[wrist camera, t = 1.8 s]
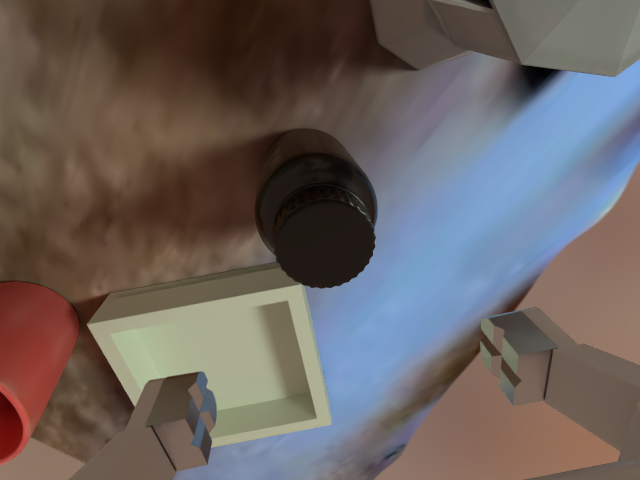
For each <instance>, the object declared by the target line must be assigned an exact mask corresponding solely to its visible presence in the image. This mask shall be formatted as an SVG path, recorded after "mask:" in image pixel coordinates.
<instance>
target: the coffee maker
mask: <svg viewBox="0 0 640 480" xmlns="http://www.w3.org/2000/svg"><path fill="white" fill-rule="evenodd" d="M370 5H371V11H372V16H373V22H374V27H375V32H376V38H377V43H378V44H379V45H381V46H382V47H384V48H385V49H387V50H388V51H390V52H391V53H393V54H394V55H396V56H397V57H398V58H400V59H401V60H403V61H404V62H406V63H407V64H409V65H410V66H412V67H413V68H415V69H416V70H422V69H425V68H428V67H431V66H434V65H437V64H440V63H443V62H447V61H450V60H453V59H456V58H459V57H462V56H465V55H468V54H471V53H473V52H478V53H482V54H486V55H490V56H494V57H497V58H501V59H505V60H509V61H512V62H516V63H518V64H521V65H529V66H536V67H544V68H551V69H559V70H566V71H573V72H581V73H588V74H596V75H603V76H611V77H615V76H617V75H618V74H620V73H621V72H622V71H624V70H625V69H627V68H628V67H629V66H631V65H632V64H633V63H635V62H636V61H638V60H639V59H640V0H370Z"/></svg>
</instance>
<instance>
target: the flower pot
mask: <svg viewBox="0 0 640 480" xmlns="http://www.w3.org/2000/svg"><path fill="white" fill-rule="evenodd" d="M79 331H80V324H79V319H78V316H77V314H76V312H75V310H74V309H73V307H72V306H71V305H70V304H69V303H68V302H67V301H66V300H65V299H64V298H63V297H62V296H60V295H59V294H57V293H56V292H54V291H52V290H50V289H48V288H46V287H44V286H41V285H37V284H32V283H27V282H22V281H11V282H4V283H0V465H2V464H4V463H6V462H8V461H9V460H11V459H13V458H14V457H15V456H16V455H18V454H19V453H20V452H21V451H22V450H23V448H24V447H25V446H26V444H27V443H28V441H29V439H30V437H31V435H32V433H33V431H34V429H35V427H36V425H37V423H38V421H39V419H40V417H41V415H42V413H43V411H44V409H45V407H46V405H47V403H48V401H49V399H50V397H51V395H52V393H53V391H54V389H55V387H56V385H57V383H58V381H59V379H60V376H61V374H62V372H63V370H64V368H65V366H66V364H67V362H68V359H69V357H70V355H71V353H72V350H73V348H74V345H75V343H76V341H77V338H78V336H79Z"/></svg>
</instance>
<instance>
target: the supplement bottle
mask: <svg viewBox="0 0 640 480" xmlns="http://www.w3.org/2000/svg"><path fill="white" fill-rule="evenodd" d="M377 209H378V207H377V199H376V194H375V191H374V189H373V186H372V184H371V182H370V181H369V179H368V177H367V176H366V174H365V173H364V172H363V170H362V169H361V168H360V167H359V165H358V164H357V163H356V162H355V160H354V159H353V158H352V157H351V155H350V154H349V153H348V151H347V150H346V149H345V148H344V147H343V145H342V144H341V143H340V142H339V141H338V140H336V139H335V138H334V137H332V136H331V135H329V134H327V133H325V132H323V131H320V130H316V129H298V130H294V131H291V132H288V133H286V134H284V135H282V136H281V137H279V138H278V139H277V140H276V141H275V142H274V143H273V144H272V145H271V146H270V147H269V149H268V150H267V152H266V154H265V156H264V158H263V161H262V165H261V169H260V175H259V182H258V189H257V195H256V202H255V220H256V226H257V229H258V232H259V235H260V237H261V239H262V241H263V242H264V244H265V245H266V246H267V248H268V249H269V250H270V251H271V252H272V253H273V254H274V255H275V256H276V261H277V262H278V264H280V267H281V270H283V271H284V272H286V274H287V276H288V277H290V278H292V279H293V280H294V281H295V282H299V283H301V284H302V285H305V286H310V287H311V288H315V287H318V288H321V289H322V288H325V287H328V288H332V287H334V286H340V285H342V284H343V283H346V282H349V281H350V280H351V279H352V278H355V277H357V275H358V274H359V273H360V272H362V271H363V270H364V268H365V266H366V265H367V264H369V260H370V258H371V257H372V256H373V250H374V248H375V243H374V241H375V238H376V236H375V234H374V227H375V224H376V220H377Z"/></svg>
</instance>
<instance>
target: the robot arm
mask: <svg viewBox="0 0 640 480" xmlns="http://www.w3.org/2000/svg"><path fill="white" fill-rule="evenodd" d="M481 329H482V331H483V332H484V333H485V336H484V337H483V338H482V339H481V353H482V357H483V360H484V362H485V365H486V367H487V368H488V370H489V371H490V373H492V374H493V375H495V376H497V377H499V378H500V385H499V386H500V387H501V389H502V390H503V392H504V393H505V395H506V396H507V398H508V399H509V401H510V402H511V403H512V405H514V406H515V405H521V404H527V403H533V402H539V401H545V403H547V404H548V405H550V406H551V407H553V408H554V409H556V410H557V411H559V412H561V413H562V414H563V415H565V416H567V417H568V418H570V419H571V420H573V421H574V422H576V423H578V424H579V425H580V426H582V427H584V428H585V429H587V430H588V431H590V432H592V433H593V434H594V435H596V436H597V437H599V438H600V439H602V440H604V441H605V442H607V443H608V444H610V445H611V446H613V447H614V448H616V449H618V450H619V451H620V452H621V453H620V456H619V459H618V462H613V463H607V464H602V465H597V466H592V467H588V468H582V469H577V470H571V471H566V472H562V473H556V474H551V475H546V476H540V477H535V478H531V479H525V480H640V365H638V364H635V363H632V362H630V361H627V360H625V359H622V358H620V357H617V356H614V355H612V354H609V353H606V352H604V351H602V350H599V349H596V348H594V347H591V346H589V345H586V344H580V345H578V344H577V343H576V342H575V341H574V340H573V339H572V338H571V337H570V336H569V335H568V334H566V333H565V332H564V331H563V330H562V329H561V328H560V327H559V326H558V325H557V324H556V323H555V322H554V321H552V320H551V319H550V318H549V317H548V316H547V315H546V314H545V313H544V312H543V311H542V310H540V309H539V308H537V307H533V308H528V309H523V310H518V311H514V312H509V313H504V314H499V315H494V316H489V317H484V318H483V320H482V322H481ZM207 383H208V379H207V377H206V375H205V373H204V372H202V371H199V372H193V373H187V374H181V375H175V376H169V377H166V378H159V379H153V380H149V381H148V382H147V383H146V384H145V386H144V388H143V391H142V393H141V395H140V397H139V400H138V402H137V404H136V406H135V409H134V411H133V413H132V415H131V418H130V420H129V422H128V424H127V427H126V429H125V431H124V432H119V433H118V434H117V435H116V436H115V437H114V438H112V439H111V440H110V441H109V442H108V443H107V444H106V445H105V446H104V447H103V448H102V449H101V450H100V451H99V452H98V453H97V454H95V455H94V456H93V457H92V458H91V459H90V460H89V461H88V462H87V463H86V464H85V465H84V466H83V467H82V468H81V469H80V470H78V471H77V472H76V473H75V475H73V476H72V477H71V478H70V479H69V480H172V479H173V477H174V476H175V475H176V471H180V470H185V469H189V468H194V467H198V466H203V465H207V464H208V460H209V455H210V450H211V445H212V439H211V437H210V435H209V433H210V432H211V430H212V429H213V428H214V427H215V424H216V418H217V405H216V400H215V396H214V394H213V392H212V391H211V390H209V389H207V388H206V387H207Z"/></svg>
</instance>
